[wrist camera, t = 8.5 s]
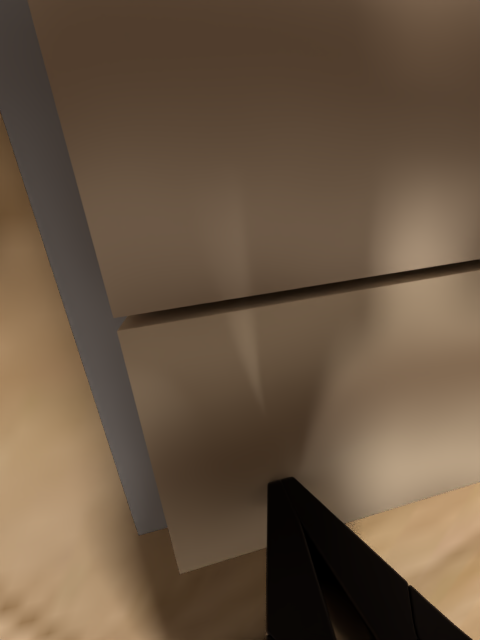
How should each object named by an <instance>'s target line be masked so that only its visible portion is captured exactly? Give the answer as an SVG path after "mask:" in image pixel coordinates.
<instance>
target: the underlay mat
mask: <svg viewBox="0 0 480 640" xmlns="http://www.w3.org/2000/svg"><path fill="white" fill-rule="evenodd" d="M0 112H1V115H2V118H3V121H4V124H5V127H6V130H7V133H8V136H9V139H10V142H11V145H12V148H13V151H14V155H15V158H16V161H17V164H18V167H19V170H20V173H21V176H22V179H23V182H24V185H25V188H26V191H27V194H28V198H29V201H30V204H31V207H32V210H33V213H34V216H35V219H36V222H37V225H38V228H39V231H40V234H41V237H42V240H43V244H44V247H45V250H46V253H47V256H48V259H49V262H50V265H51V268H52V271H53V274H54V277H55V280H56V283H57V287H58V290H59V293H60V296H61V299H62V302H63V305H64V308H65V311H66V314H67V317H68V320H69V323H70V326H71V329H72V333H73V336H74V339H75V342H76V345H77V348H78V351H79V354H80V357H81V360H82V363H83V366H84V369H85V372H86V376H87V379H88V382H89V385H90V388H91V391H92V394H93V397H94V400H95V403H96V406H97V409H98V412H99V415H100V418H101V422H102V425H103V428H104V431H105V434H106V437H107V440H108V443H109V446H110V449H111V452H112V455H113V458H114V461H115V465H116V468H117V471H118V474H119V477H120V480H121V483H122V486H123V489H124V492H125V495H126V498H127V501H128V504H129V508H130V511H131V514H132V517H133V520H134V523H135V526H136V529H137V532H138V535H143V534H146V533H150V532H153V531H157V530H161V529H164V528H168V527H167V523H166V519H165V515H164V512H163V508H162V504H161V500H160V496H159V492H158V488H157V484H156V481H155V477H154V473H153V469H152V465H151V461H150V457H149V453H148V450H147V446H146V442H145V438H144V434H143V430H142V426H141V422H140V419H139V415H138V411H137V407H136V403H135V399H134V395H133V392H132V388H131V384H130V380H129V376H128V372H127V368H126V364H125V361H124V357H123V353H122V349H121V345H120V341H119V337H118V333H117V331H118V329H119V328H120V326H121V325H122V323H123V322H124V320H125V319H126V317H127V316H124V317H117V318H113V315H112V311H111V307H110V304H109V300H108V296H107V293H106V289H105V285H104V282H103V278H102V274H101V271H100V267H99V263H98V259H97V256H96V252H95V248H94V245H93V241H92V237H91V234H90V230H89V226H88V222H87V219H86V215H85V211H84V208H83V204H82V200H81V197H80V193H79V189H78V186H77V182H76V178H75V174H74V171H73V167H72V163H71V160H70V156H69V152H68V149H67V145H66V141H65V137H64V134H63V130H62V126H61V123H60V119H59V115H58V112H57V108H56V104H55V101H54V97H53V93H52V89H51V86H50V82H49V78H48V75H47V71H46V67H45V64H44V60H43V56H42V52H41V49H40V45H39V41H38V38H37V34H36V30H35V27H34V23H33V19H32V16H31V12H30V8H29V4H28V1H27V0H0Z"/></svg>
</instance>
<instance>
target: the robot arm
mask: <svg viewBox="0 0 480 640" xmlns="http://www.w3.org/2000/svg"><path fill="white" fill-rule="evenodd" d="M265 640H473V639H471V638H470V637H469V636H468V635H466V634H465V633H464V632H463V631H462V630H460V629H459V628H458V627H457V626H456V625H454V624H453V623H452V622H451V621H450V620H449V619H448V618H447V617H445V616H444V615H443V614H442V613H441V612H440V611H439V610H437V609H436V608H435V607H434V606H433V605H432V604H431V603H430V602H428V601H427V600H426V599H425V598H424V597H423V596H422V595H421V594H420V593H419V592H418V591H417V590H416V589H415V588H413V587H412V586H411V585H409V586H408V583H407V581H406V580H405V579H404V578H402V577H401V576H400V575H399V574H398V573H397V572H396V571H395V570H394V569H393V568H392V567H391V566H390V565H388V564H387V563H386V562H385V561H384V560H383V559H382V558H381V557H380V556H379V555H378V554H377V553H375V552H374V551H373V550H372V549H371V548H370V547H369V546H368V545H367V544H366V543H365V542H364V541H362V540H361V539H360V538H359V537H358V536H357V535H356V534H355V533H354V532H353V531H352V530H351V529H350V528H348V527H347V526H346V525H345V524H344V523H343V522H342V521H341V520H340V519H339V518H338V517H337V516H335V515H334V514H333V513H332V512H331V511H330V510H329V509H328V508H327V507H326V506H325V505H324V504H322V503H321V502H320V501H319V500H318V499H317V498H316V497H315V496H314V495H313V494H312V493H311V492H310V491H308V490H307V489H306V488H305V487H304V486H303V485H302V484H301V483H300V482H299V481H298V480H297V479H295V478H294V477H287V478H284V479H281V480H276V481H272V482H269V483H268V484H267V550H266V637H265Z"/></svg>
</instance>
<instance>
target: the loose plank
mask: <svg viewBox="0 0 480 640" xmlns="http://www.w3.org/2000/svg"><path fill="white" fill-rule="evenodd" d="M117 333H118V337H119V341H120V345H121V349H122V353H123V357H124V361H125V364H126V368H127V372H128V376H129V380H130V384H131V388H132V392H133V395H134V399H135V403H136V407H137V411H138V415H139V419H140V422H141V426H142V430H143V434H144V438H145V442H146V446H147V450H148V453H149V457H150V461H151V465H152V469H153V473H154V477H155V481H156V484H157V488H158V492H159V496H160V500H161V504H162V508H163V512H164V515H165V519H166V523H167V527H168V531H169V535H170V539H171V542H172V546H173V550H174V554H175V558H176V562H177V566H178V570H179V573H180V574H182V573H186V572H189V571H192V570H195V569H199V568H202V567H205V566H208V565H212V564H215V563H218V562H221V561H225V560H228V559H231V558H234V557H238V556H241V555H244V554H247V553H251V552H254V551H257V550H260V549H264V548H267V484H268V483H269V482H272V481H276V480H281V479H284V478H287V477H294V478H295V479H297V480H298V481H299V482H300V483H301V484H302V485H303V486H304V487H305V488H306V489H307V490H308V491H310V492H311V493H312V494H313V495H314V496H315V497H316V498H317V499H318V500H319V501H320V502H321V503H322V504H324V505H325V506H326V507H327V508H328V509H329V510H330V511H331V512H332V513H333V514H334V515H335V516H337V517H338V518H339V519H340V520H341V521H342V522H343V523H344V524H345V523H348V522H352V521H355V520H358V519H362V518H365V517H368V516H371V515H375V514H378V513H381V512H384V511H388V510H391V509H394V508H397V507H401V506H404V505H407V504H410V503H414V502H417V501H420V500H423V499H427V498H430V497H433V496H436V495H440V494H443V493H446V492H449V491H453V490H456V489H459V488H463V487H466V486H469V485H472V484H476V483H479V482H480V259H477V260H471V261H465V262H458V263H452V264H446V265H440V266H434V267H427V268H421V269H415V270H409V271H403V272H396V273H390V274H384V275H378V276H372V277H365V278H359V279H353V280H347V281H341V282H334V283H328V284H322V285H316V286H310V287H303V288H297V289H291V290H285V291H279V292H272V293H266V294H260V295H254V296H248V297H241V298H235V299H229V300H223V301H217V302H210V303H204V304H198V305H192V306H186V307H179V308H173V309H167V310H161V311H155V312H148V313H142V314H136V315H130V316H127V317H126V319H125V320H124V322H123V323H122V325H121V326H120V328H119V329H118V331H117Z"/></svg>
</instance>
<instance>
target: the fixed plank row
mask: <svg viewBox="0 0 480 640" xmlns="http://www.w3.org/2000/svg"><path fill="white" fill-rule="evenodd" d="M27 1H28V4H29V8H30V12H31V16H32V19H33V23H34V27H35V30H36V34H37V38H38V41H39V45H40V49H41V52H42V56H43V60H44V64H45V67H46V71H47V75H48V78H49V82H50V86H51V89H52V93H53V97H54V101H55V104H56V108H57V112H58V115H59V119H60V123H61V126H62V130H63V134H64V137H65V141H66V145H67V149H68V152H69V156H70V160H71V163H72V167H73V171H74V174H75V178H76V182H77V186H78V189H79V193H80V197H81V200H82V204H83V208H84V211H85V215H86V219H87V222H88V226H89V230H90V234H91V237H92V241H93V245H94V248H95V252H96V256H97V259H98V263H99V267H100V271H101V274H102V278H103V282H104V285H105V289H106V293H107V296H108V300H109V304H110V307H111V311H112V315H113V318H117V317H124V316H130V315H136V314H142V313H148V312H155V311H161V310H167V309H173V308H179V307H186V306H192V305H198V304H204V303H210V302H217V301H223V300H229V299H235V298H241V297H248V296H254V295H260V294H266V293H272V292H279V291H285V290H291V289H297V288H303V287H310V286H316V285H322V284H328V283H334V282H341V281H347V280H353V279H359V278H365V277H372V276H378V275H384V274H390V273H396V272H403V271H409V270H415V269H421V268H427V267H434V266H440V265H446V264H452V263H458V262H465V261H471V260H477V259H480V0H27Z"/></svg>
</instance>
